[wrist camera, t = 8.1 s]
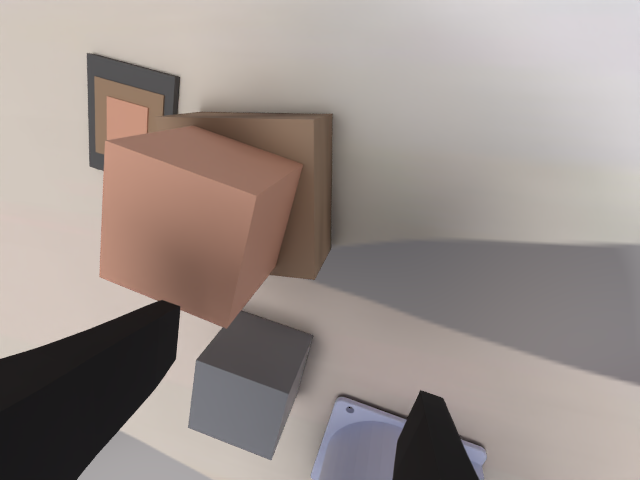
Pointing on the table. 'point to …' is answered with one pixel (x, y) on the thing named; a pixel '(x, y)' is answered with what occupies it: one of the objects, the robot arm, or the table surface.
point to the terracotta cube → (194, 218)
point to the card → (125, 102)
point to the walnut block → (314, 184)
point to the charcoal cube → (248, 383)
